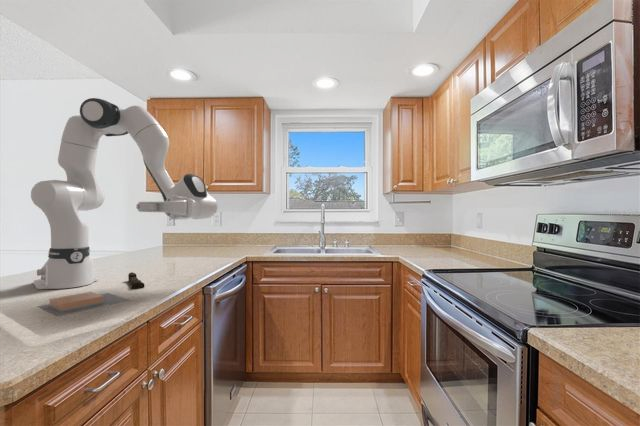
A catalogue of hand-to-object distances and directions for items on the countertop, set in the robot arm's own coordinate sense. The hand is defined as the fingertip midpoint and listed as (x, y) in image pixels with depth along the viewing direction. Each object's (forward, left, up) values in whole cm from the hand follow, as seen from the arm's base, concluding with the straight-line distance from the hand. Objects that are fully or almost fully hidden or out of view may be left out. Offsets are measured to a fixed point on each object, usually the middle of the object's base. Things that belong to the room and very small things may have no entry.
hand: (138, 206), depth 103 cm
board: (-1, -14, -30) cm, 33 cm away
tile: (-1, -11, -27) cm, 30 cm away
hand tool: (-15, +6, -30) cm, 35 cm away
